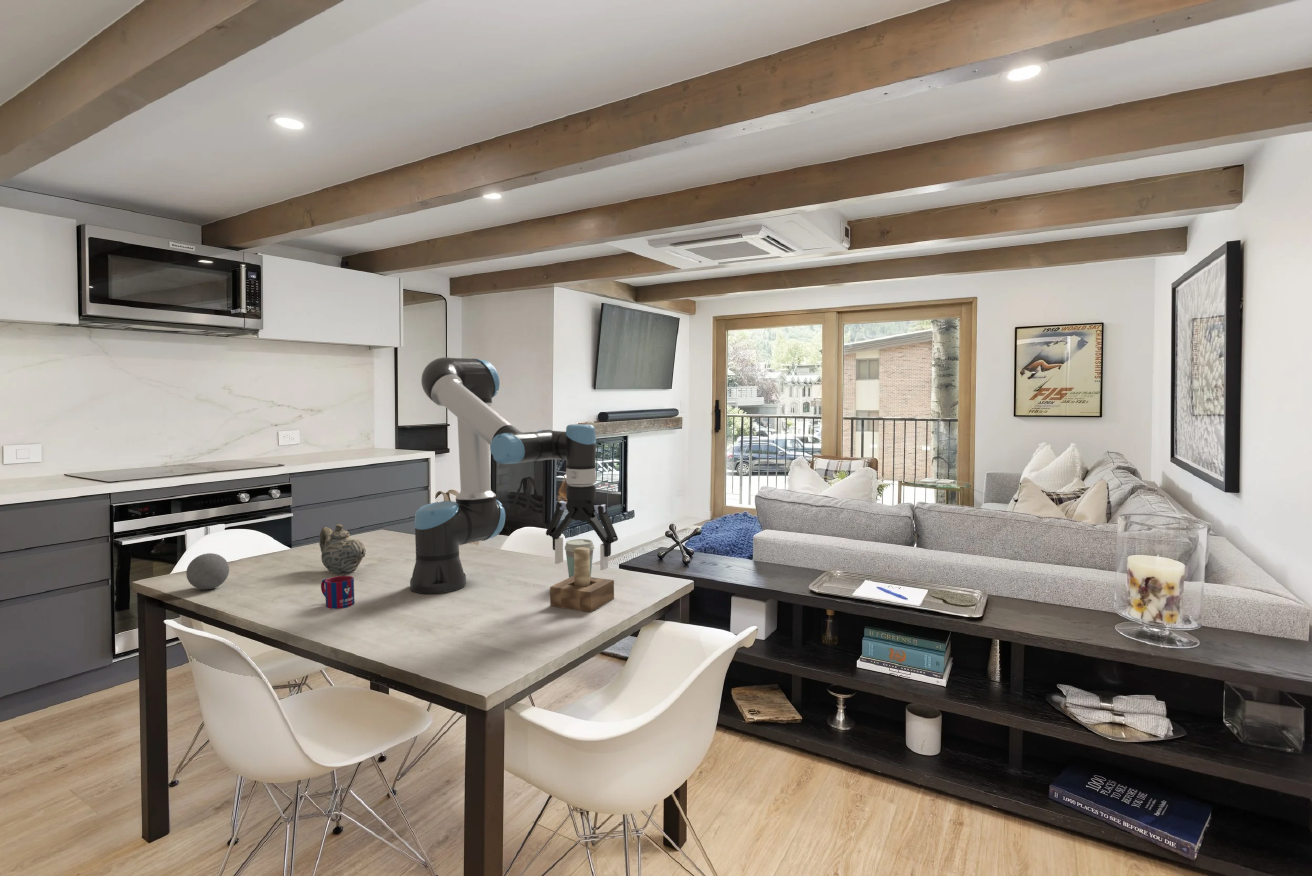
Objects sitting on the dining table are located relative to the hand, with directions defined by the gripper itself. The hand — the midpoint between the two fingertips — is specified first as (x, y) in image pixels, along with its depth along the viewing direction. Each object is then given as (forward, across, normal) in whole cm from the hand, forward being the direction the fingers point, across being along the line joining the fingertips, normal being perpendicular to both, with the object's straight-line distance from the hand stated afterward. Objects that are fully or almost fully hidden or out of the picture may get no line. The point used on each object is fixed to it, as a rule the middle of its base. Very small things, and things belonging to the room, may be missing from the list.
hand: (581, 565), depth 172 cm
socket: (+9, 0, 0) cm, 10 cm away
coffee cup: (+10, -10, +15) cm, 20 cm away
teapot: (+11, -84, -4) cm, 84 cm away
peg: (+10, 0, 0) cm, 10 cm away
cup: (+10, -58, -27) cm, 64 cm away
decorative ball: (+11, -102, -32) cm, 108 cm away
